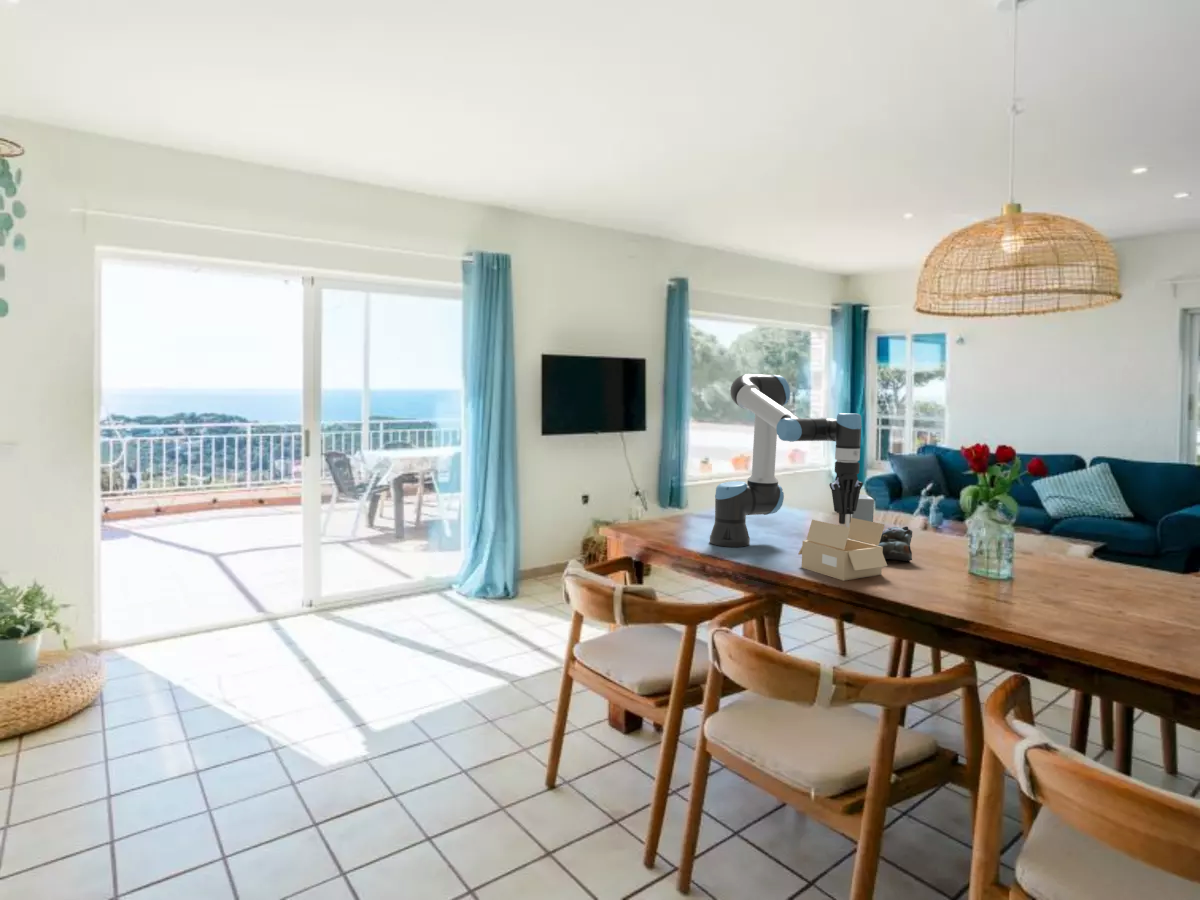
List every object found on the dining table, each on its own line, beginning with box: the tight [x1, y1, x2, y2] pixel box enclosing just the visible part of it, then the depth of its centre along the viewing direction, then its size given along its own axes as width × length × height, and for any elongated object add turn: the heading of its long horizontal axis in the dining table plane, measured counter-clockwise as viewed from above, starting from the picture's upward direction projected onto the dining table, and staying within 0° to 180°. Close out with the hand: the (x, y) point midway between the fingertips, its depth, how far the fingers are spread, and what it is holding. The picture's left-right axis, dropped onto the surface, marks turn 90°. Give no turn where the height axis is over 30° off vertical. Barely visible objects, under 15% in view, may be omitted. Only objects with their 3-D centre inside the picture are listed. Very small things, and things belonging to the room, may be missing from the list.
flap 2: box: [848, 518, 886, 545], centre depth 232 cm, size 16×7×1 cm
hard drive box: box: [847, 493, 875, 544], centre depth 263 cm, size 16×8×20 cm, turn 168°
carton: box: [798, 539, 888, 582], centre depth 229 cm, size 24×17×9 cm
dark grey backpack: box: [876, 526, 913, 563], centre depth 246 cm, size 15×12×14 cm
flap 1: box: [806, 519, 850, 550], centre depth 225 cm, size 16×7×1 cm
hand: (844, 533), depth 229 cm, fingers closed
